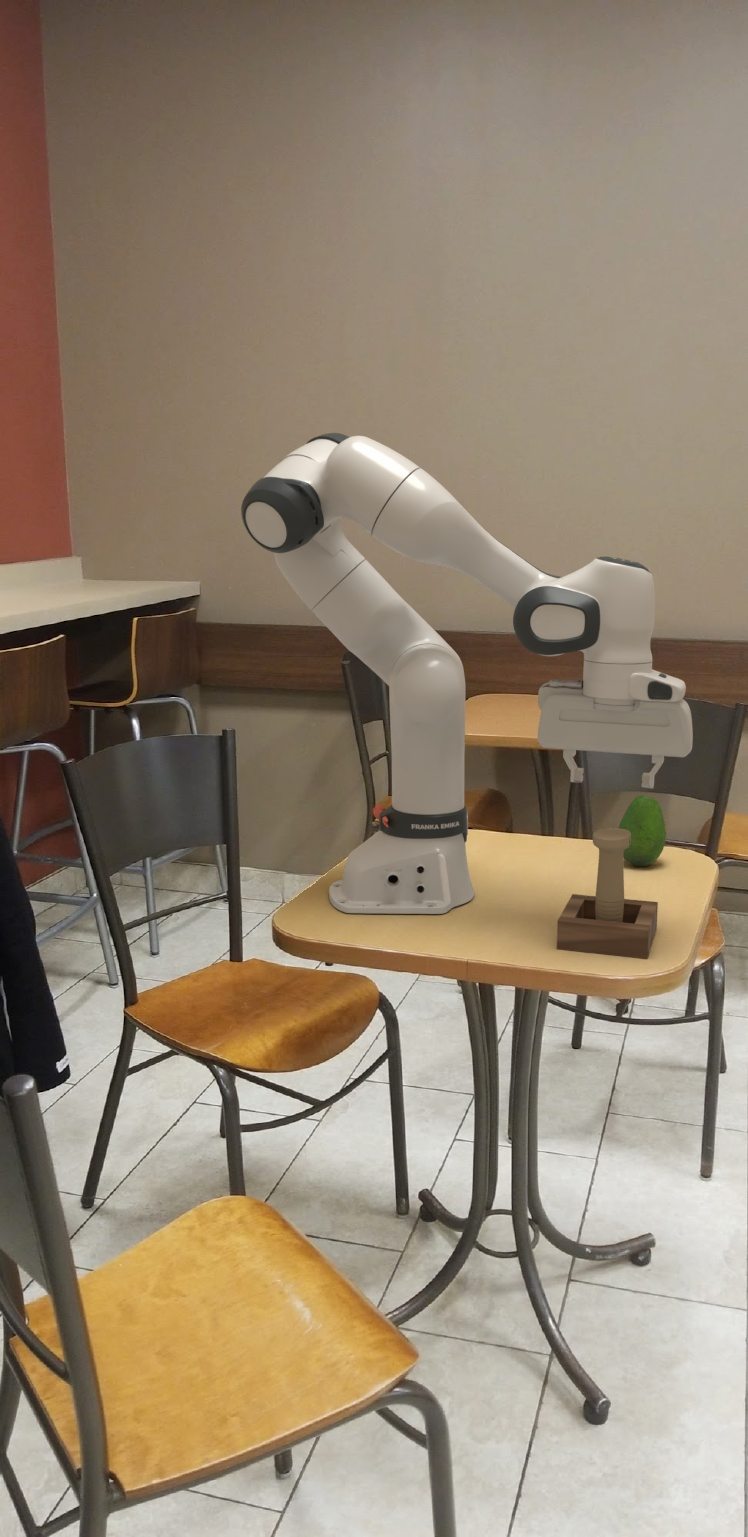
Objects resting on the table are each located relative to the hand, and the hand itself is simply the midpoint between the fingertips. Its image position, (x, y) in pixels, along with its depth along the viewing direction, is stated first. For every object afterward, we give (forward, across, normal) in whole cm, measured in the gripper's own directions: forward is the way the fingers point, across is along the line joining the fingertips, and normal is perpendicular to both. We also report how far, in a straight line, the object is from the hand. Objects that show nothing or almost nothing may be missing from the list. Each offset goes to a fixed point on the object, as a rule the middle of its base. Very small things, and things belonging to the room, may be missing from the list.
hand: (611, 784), depth 155 cm
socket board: (+22, 0, 0) cm, 22 cm away
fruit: (+22, +1, +37) cm, 43 cm away
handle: (+22, +1, 0) cm, 22 cm away
